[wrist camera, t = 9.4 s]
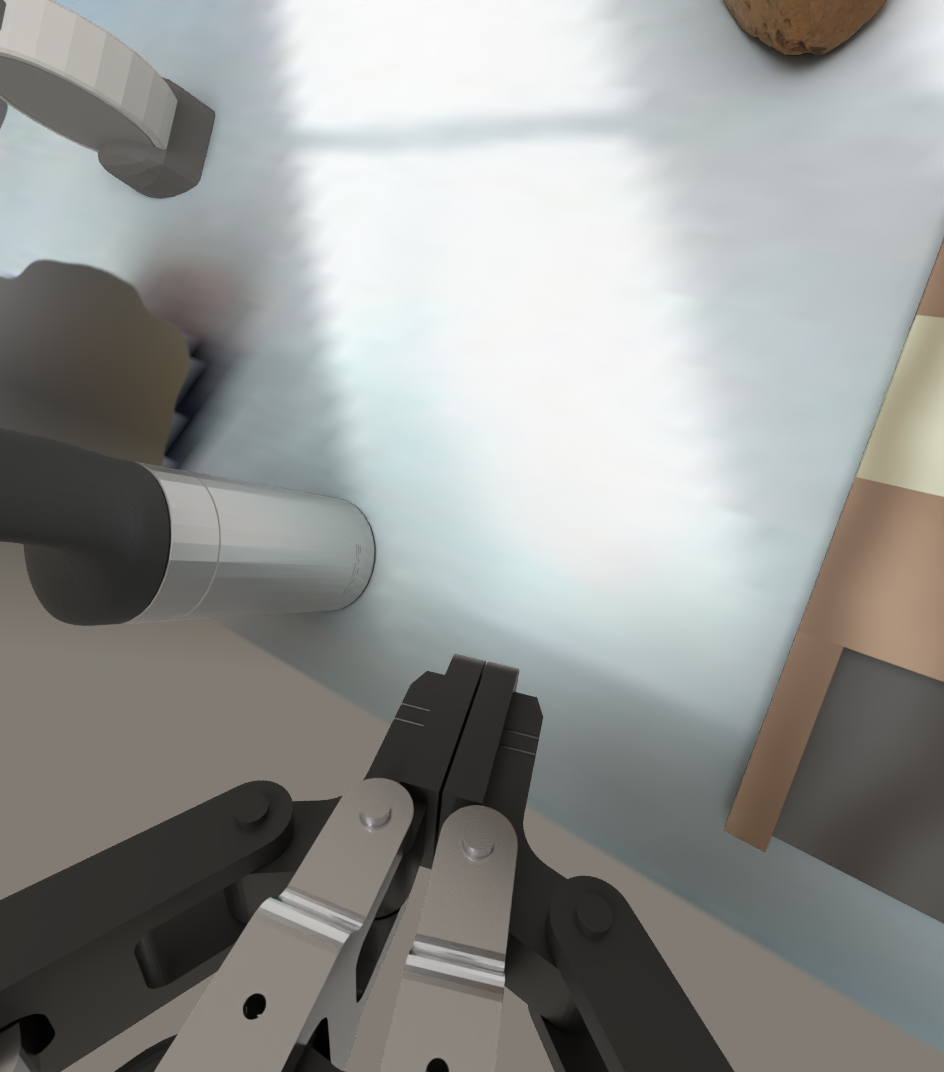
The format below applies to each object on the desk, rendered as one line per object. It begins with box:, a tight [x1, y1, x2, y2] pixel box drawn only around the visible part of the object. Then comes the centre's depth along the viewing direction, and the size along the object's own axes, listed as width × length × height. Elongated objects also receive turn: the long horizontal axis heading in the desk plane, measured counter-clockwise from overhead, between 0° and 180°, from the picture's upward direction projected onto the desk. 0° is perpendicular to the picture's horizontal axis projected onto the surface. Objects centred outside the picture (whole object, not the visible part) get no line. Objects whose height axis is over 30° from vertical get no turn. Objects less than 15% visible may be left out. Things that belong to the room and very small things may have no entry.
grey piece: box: [0, 0, 215, 199], centre depth 55 cm, size 16×10×18 cm, turn 71°
